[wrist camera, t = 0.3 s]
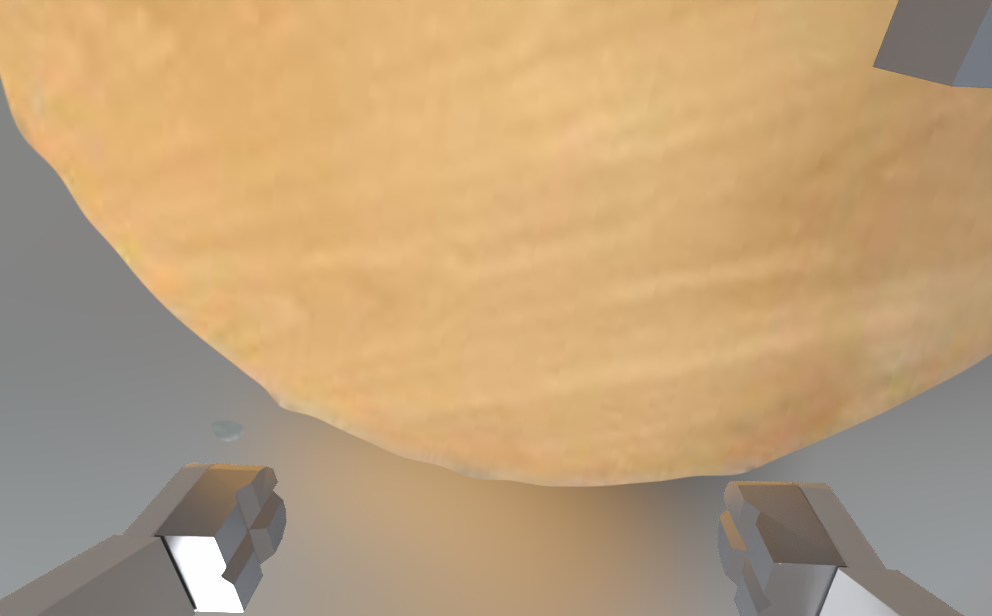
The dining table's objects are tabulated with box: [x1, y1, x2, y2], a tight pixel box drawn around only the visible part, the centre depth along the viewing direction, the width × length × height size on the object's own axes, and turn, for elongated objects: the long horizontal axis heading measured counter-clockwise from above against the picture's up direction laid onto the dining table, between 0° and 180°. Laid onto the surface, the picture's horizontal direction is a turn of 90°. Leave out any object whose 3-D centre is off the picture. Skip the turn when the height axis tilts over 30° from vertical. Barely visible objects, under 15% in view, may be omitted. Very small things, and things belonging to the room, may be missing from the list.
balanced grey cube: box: [873, 0, 992, 88], centre depth 33 cm, size 7×7×9 cm
